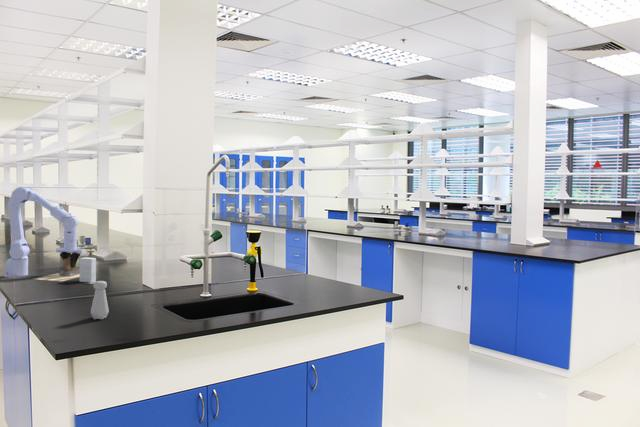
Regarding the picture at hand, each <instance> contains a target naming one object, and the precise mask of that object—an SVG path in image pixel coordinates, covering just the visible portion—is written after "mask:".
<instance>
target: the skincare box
mask: <svg viewBox="0 0 640 427" xmlns="http://www.w3.org/2000/svg"><path fill="white" fill-rule="evenodd" d="M79 270H80V277H78V280H79V283H80V282H82V284H84V285H92V284H93V285H94V282H96V281H97V258H96V257H79Z"/></svg>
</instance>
